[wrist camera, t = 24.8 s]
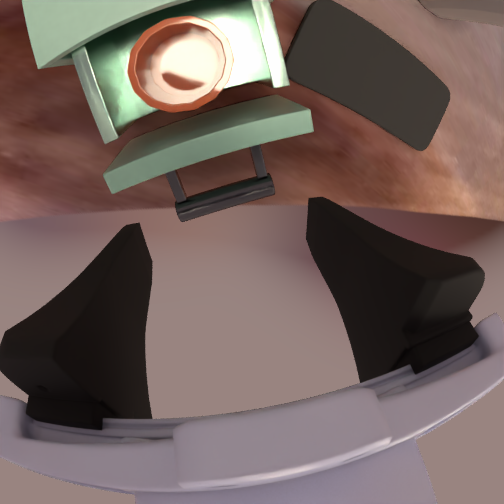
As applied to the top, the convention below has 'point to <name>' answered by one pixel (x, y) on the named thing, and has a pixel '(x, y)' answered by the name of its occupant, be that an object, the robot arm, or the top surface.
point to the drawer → (200, 126)
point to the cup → (468, 10)
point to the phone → (367, 73)
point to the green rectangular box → (79, 23)
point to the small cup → (180, 64)
